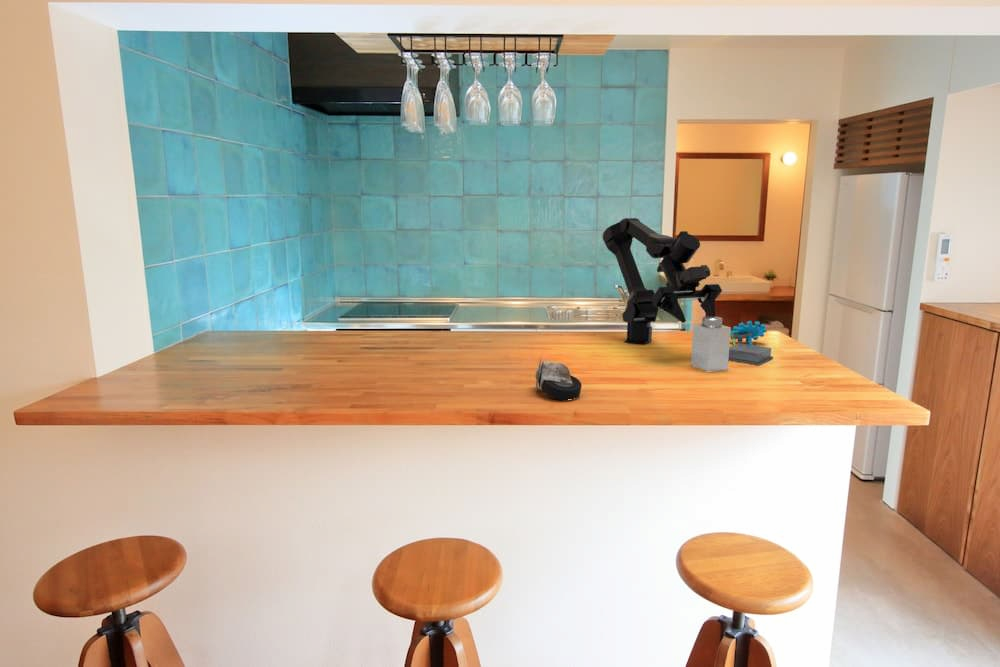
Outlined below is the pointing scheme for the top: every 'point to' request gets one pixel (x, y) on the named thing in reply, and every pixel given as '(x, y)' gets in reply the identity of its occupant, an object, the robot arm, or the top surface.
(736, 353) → the stand
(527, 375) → the top surface
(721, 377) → the top surface
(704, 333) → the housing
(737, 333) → the gear
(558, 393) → the caster wheel
